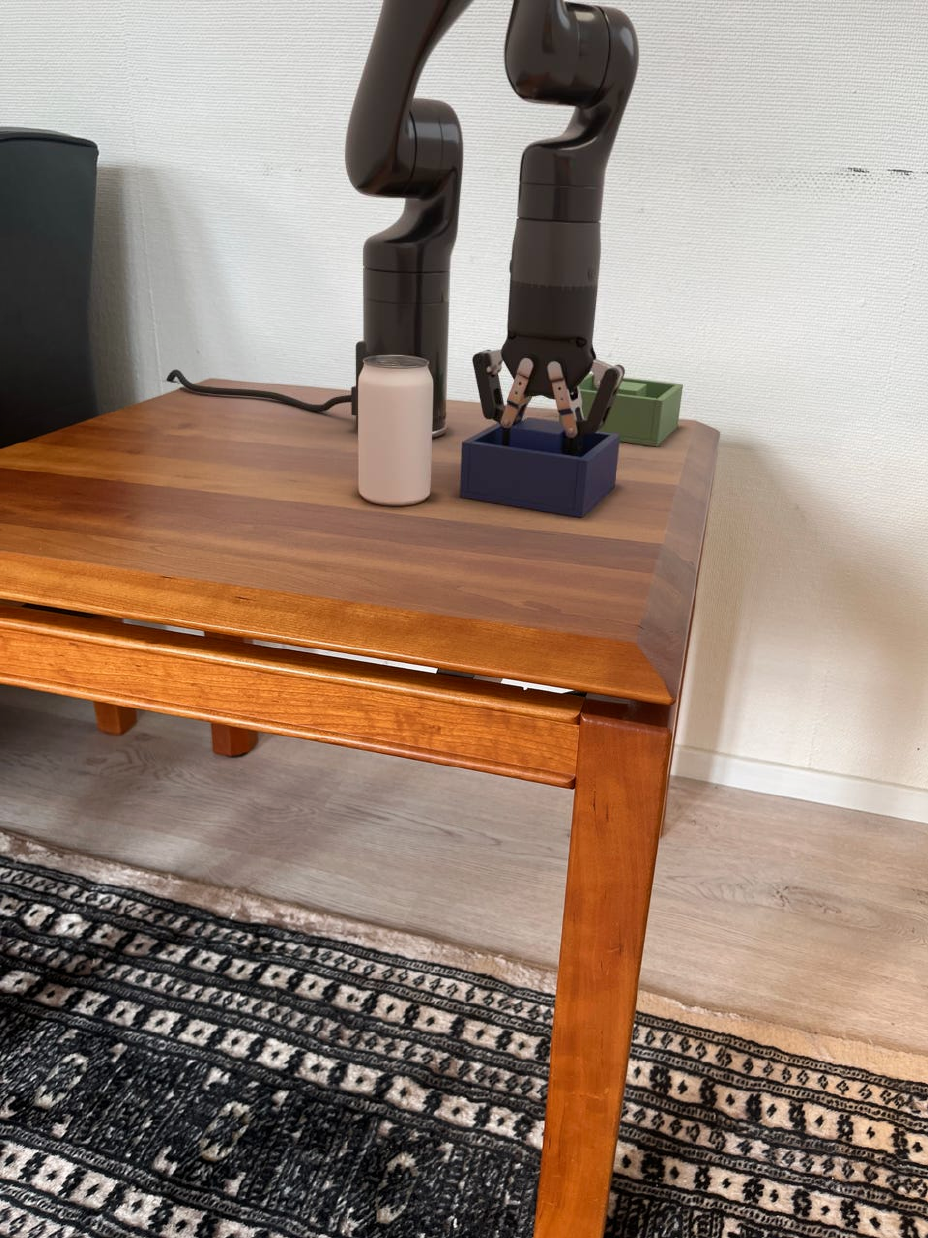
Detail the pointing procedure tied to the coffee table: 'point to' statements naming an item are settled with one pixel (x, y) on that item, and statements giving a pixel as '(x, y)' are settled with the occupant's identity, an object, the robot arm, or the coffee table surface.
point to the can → (395, 429)
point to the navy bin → (538, 473)
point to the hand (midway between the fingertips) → (539, 470)
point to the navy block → (538, 435)
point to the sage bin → (638, 411)
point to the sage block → (632, 389)
